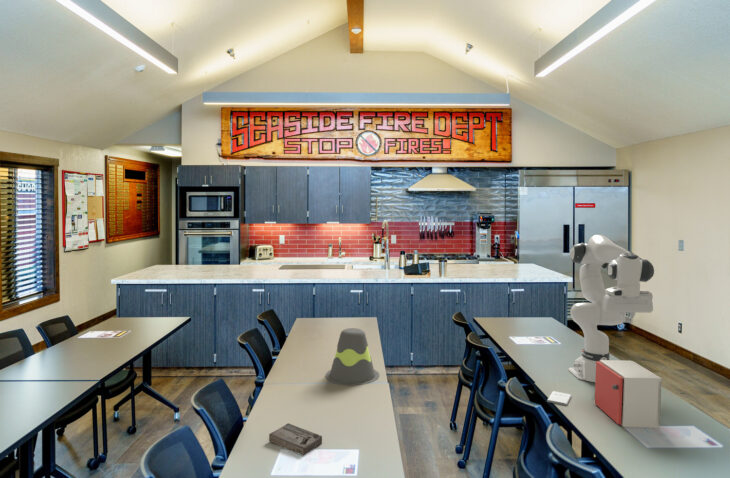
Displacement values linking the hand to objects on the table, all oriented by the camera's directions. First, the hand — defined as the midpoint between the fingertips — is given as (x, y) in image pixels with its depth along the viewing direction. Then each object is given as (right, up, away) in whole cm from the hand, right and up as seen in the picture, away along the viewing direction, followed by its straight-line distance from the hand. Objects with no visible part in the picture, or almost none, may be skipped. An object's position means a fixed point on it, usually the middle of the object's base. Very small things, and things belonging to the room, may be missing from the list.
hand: (627, 322), depth 206 cm
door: (-13, -37, -8) cm, 40 cm away
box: (-140, -39, -33) cm, 150 cm away
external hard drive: (-26, -37, +8) cm, 46 cm away
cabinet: (-5, -38, -8) cm, 39 cm away
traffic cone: (-121, -35, +38) cm, 132 cm away
